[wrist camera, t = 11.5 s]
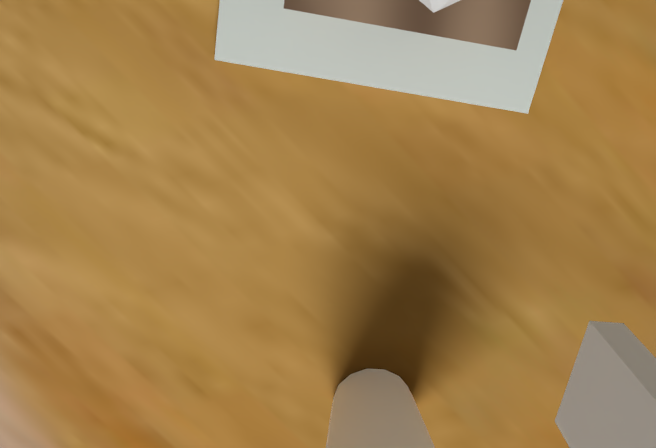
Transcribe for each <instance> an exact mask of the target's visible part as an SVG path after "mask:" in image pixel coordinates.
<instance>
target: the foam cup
mask: <svg viewBox="0 0 656 448" xmlns="http://www.w3.org/2000/svg"><path fill="white" fill-rule="evenodd" d="M326 448H435V447H434V444H433V442H432V440H431V437H430V435H429V433H428V431H427V428H426V426H425V424H424V421H423V419H422V417H421V414H420V412H419V410H418V408H417V405H416V403H415V401H414V398H413V396H412V394H411V392H410V391H409V387H408V386H407V385H406V384H405V382H404V381H403V380H402V379H401V378H400V376H398V375H396V374H394V373H391V372H389V371H387V370H385V369H364V370H361V371H358V372H355V373H352V374H350V375H349V376H348V377H347V378H346V379H344V380H343V381H342V382H341V383H340V384H339V385H338V387H337V390H336V393H335V395H334V398H333V403H332V410H331V416H330V423H329V430H328V437H327V443H326Z"/></svg>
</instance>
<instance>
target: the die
mask: <svg viewBox="0 0 656 448" xmlns="http://www.w3.org/2000/svg"><path fill="white" fill-rule="evenodd" d="M419 1H420V2H422V3H423V4H424V5H425V6H426V7H427V8H429V9H430V10H431V11H432V12H433V13H434V12H437V11H439V10H441V9H443V8H445V7H447V6H449V5H452V4H454V3H456V2H458V1H460V0H419Z"/></svg>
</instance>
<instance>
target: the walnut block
mask: <svg viewBox="0 0 656 448" xmlns="http://www.w3.org/2000/svg"><path fill="white" fill-rule="evenodd" d="M530 2H531V0H460V1H458V2H456V3H454V4H452V5H449V6H447V7H445V8H443V9H441V10H439V11H437V12H434V13H433V12H432V11H431V10H430V9H429V8H427V7H426V6H425V5H424V4H423V3H422V2H420V1H419V0H284V9H290V10H295V11H301V12H306V13H312V14H317V15H323V16H328V17H334V18H339V19H345V20H350V21H356V22H361V23H367V24H373V25H378V26H384V27H389V28H395V29H400V30H406V31H411V32H417V33H422V34H428V35H433V36H439V37H444V38H450V39H455V40H461V41H467V42H472V43H478V44H483V45H489V46H494V47H500V48H505V49H511V50H517V47H518V43H519V40H520V36H521V33H522V30H523V26H524V23H525V19H526V16H527V12H528V9H529V6H530Z"/></svg>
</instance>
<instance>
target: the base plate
mask: <svg viewBox="0 0 656 448" xmlns="http://www.w3.org/2000/svg"><path fill="white" fill-rule="evenodd" d="M562 2H563V0H531V2H530V6H529V9H528V12H527V16H526V19H525V23H524V26H523V30H522V33H521V36H520V40H519V43H518V47H517V50H511V49H505V48H500V47H494V46H489V45H483V44H478V43H472V42H467V41H461V40H455V39H450V38H444V37H439V36H433V35H428V34H422V33H417V32H411V31H406V30H400V29H395V28H389V27H384V26H378V25H373V24H367V23H361V22H356V21H350V20H345V19H339V18H334V17H328V16H323V15H317V14H312V13H306V12H301V11H295V10H290V9H284V0H220V4H219V15H218V26H217V37H216V48H215V59H214V60H218V61H224V62H230V63H236V64H242V65H248V66H253V67H259V68H265V69H271V70H277V71H283V72H288V73H294V74H300V75H306V76H312V77H318V78H323V79H329V80H335V81H341V82H347V83H353V84H358V85H364V86H370V87H376V88H382V89H388V90H393V91H399V92H405V93H411V94H417V95H423V96H428V97H434V98H440V99H446V100H452V101H458V102H463V103H469V104H475V105H481V106H487V107H493V108H498V109H504V110H510V111H516V112H522V113H528V111H529V108H530V105H531V102H532V99H533V95H534V92H535V89H536V86H537V83H538V79H539V76H540V73H541V70H542V66H543V63H544V60H545V57H546V54H547V50H548V47H549V44H550V41H551V38H552V34H553V31H554V28H555V25H556V22H557V18H558V15H559V12H560V9H561V6H562Z"/></svg>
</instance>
